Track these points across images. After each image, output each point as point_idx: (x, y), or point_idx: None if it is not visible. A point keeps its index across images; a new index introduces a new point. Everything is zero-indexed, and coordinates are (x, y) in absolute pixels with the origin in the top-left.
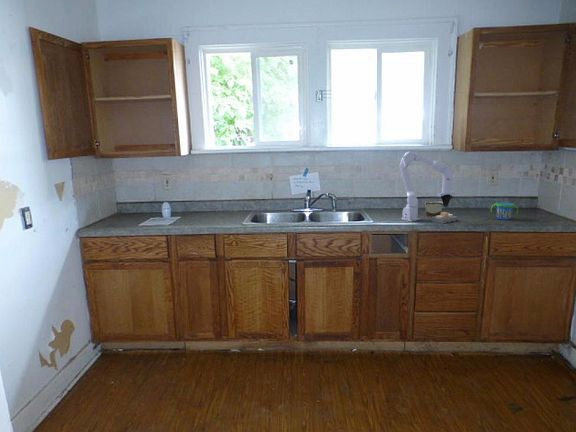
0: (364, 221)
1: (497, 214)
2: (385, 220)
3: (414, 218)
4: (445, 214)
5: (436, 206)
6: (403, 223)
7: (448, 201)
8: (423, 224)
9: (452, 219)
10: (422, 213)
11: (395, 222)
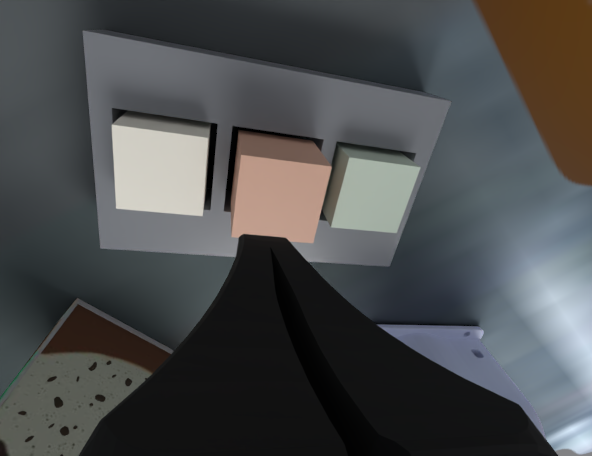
0: (583, 441)
1: None
2: None
3: (439, 343)
4: (317, 159)
5: (81, 434)
6: (567, 316)
7: (274, 298)
8: (551, 208)
9: (234, 57)
10: None
11: (552, 358)
